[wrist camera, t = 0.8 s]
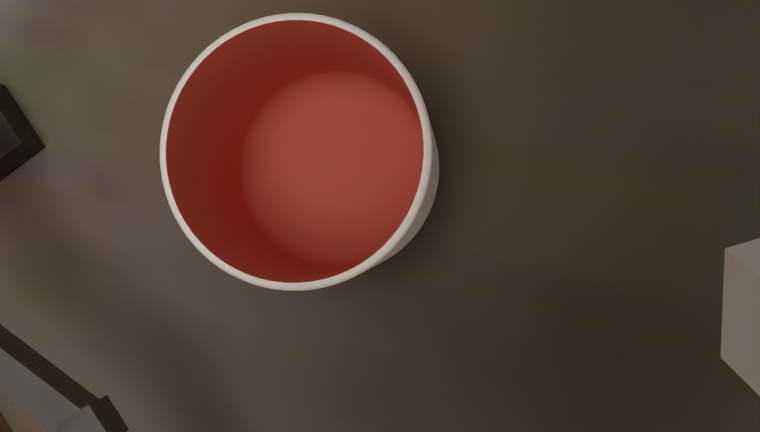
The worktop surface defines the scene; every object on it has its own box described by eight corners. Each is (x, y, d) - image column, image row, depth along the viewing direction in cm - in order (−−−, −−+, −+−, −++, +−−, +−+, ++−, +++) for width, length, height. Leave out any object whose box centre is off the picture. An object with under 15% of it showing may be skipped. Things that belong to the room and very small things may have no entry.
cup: (215, 232, 36) (122, 237, 26) (279, 45, 35) (208, -24, 26) (401, 299, 35) (378, 331, 25) (468, 106, 34) (471, 60, 24)
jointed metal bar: (9, 82, 37) (-150, 33, 27) (306, 535, 35) (248, 655, 25) (-58, 132, 37) (-238, 102, 28) (233, 584, 35) (148, 719, 26)
